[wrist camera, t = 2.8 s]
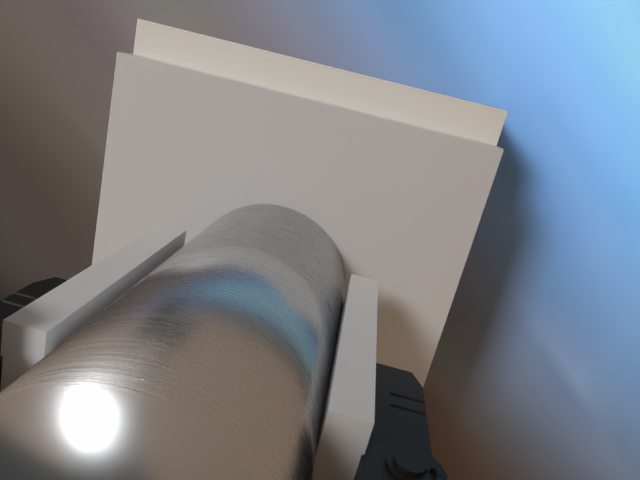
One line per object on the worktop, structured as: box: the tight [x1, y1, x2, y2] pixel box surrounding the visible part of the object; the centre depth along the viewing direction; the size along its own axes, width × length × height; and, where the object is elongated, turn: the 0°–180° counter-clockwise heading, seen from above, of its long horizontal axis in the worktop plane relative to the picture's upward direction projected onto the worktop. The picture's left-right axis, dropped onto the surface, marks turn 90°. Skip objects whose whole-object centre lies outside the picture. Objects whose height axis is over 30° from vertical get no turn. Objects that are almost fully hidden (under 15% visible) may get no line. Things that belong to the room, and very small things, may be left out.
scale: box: [92, 19, 508, 387], centre depth 18 cm, size 16×11×4 cm
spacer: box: [0, 204, 346, 480], centre depth 12 cm, size 5×5×10 cm
